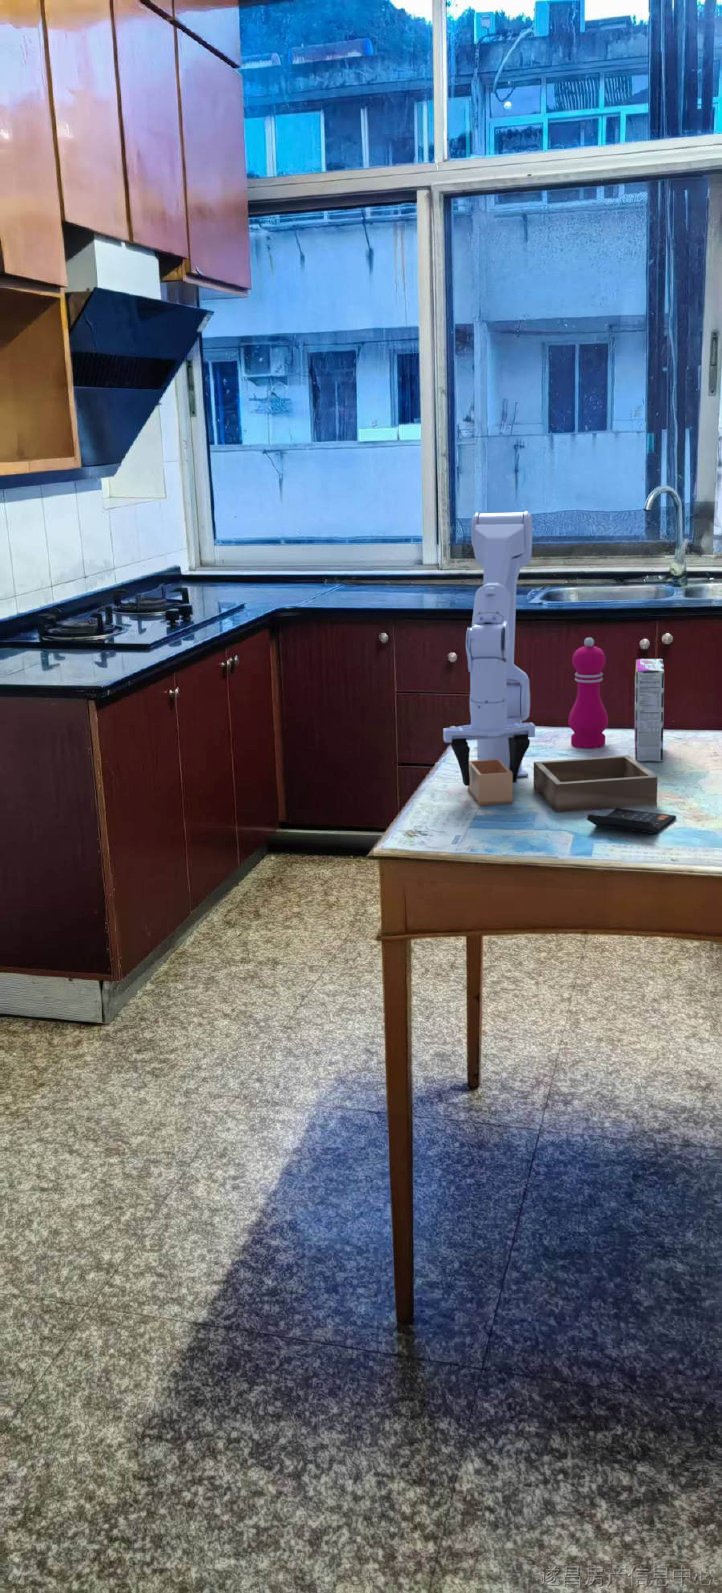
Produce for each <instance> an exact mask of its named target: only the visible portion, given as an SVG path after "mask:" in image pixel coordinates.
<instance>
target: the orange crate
mask: <svg viewBox="0 0 722 1593" xmlns="http://www.w3.org/2000/svg"><path fill="white" fill-rule="evenodd" d="M469 775H470V785H469V786H467V791H468V793H469V794H470V795H471V796H472V798H473V799H474V800H475V802H476V803H477V805H478V806H479V807H481V806H483V807H484V806H493V805H494V806H495V805H508V804H510V805H511V804H513V803H514V800H513V799H514V798H513V797H514V795H513V794H514V793H513V792H514V788H513V783H514V782H513V773H512V772H511V771H510V770H509V768H508V767H507V766H506V765H505V764H504V763H503V762H502V761H501V760H500V759H492V760H478V761H477V760H469Z"/></svg>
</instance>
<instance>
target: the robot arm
mask: <svg viewBox="0 0 722 1593" xmlns="http://www.w3.org/2000/svg"><path fill="white" fill-rule="evenodd" d="M533 528H534V526H533V516H532V514H531V513H530V512H529V511H528V510H525V511H523V512H521V511H520V512H488V513H487V512H486V513H480V512H475V513H474V515H473V516H472V518H471V525H470V530H471V531H470V536H471V538H470V539H471V545H472V547H473V552H474V554H473V555H474V558H475V559H476V562H477V565H478V566H480V567H482V568H483V580H482V581H483V582H482V583H483V585H482V586H480V587H479V588H478V589H477V590H476V592H475V594H474V595H475V596H474V601H473V602H474V603H473V611H472V612H473V613H472V620H471V627H467V630H466V635H465V651H466V652H465V653H466V656H467V668H468V672H469V673H470V675H469V676H470V677H469V678H470V685H469V686H470V687H469V688H470V689H469V690H470V691H469V712H470V713H469V714H470V724H468V725H460V726H453V727H445V728H443V729H442V733H443V734H442V738H443V742H444V743H445V744H446V743H449V745H450V748H451V749H452V751H453V753H454V755H455V757H456V760H457V763H458V766H459V770H460V773H461V777H462V784H463V785H464V786H466V787H468V786H469V785H470V775H469V761H470V752H471V751H470V750H471V748H470V746H469V745H468V743H469V742H467V741H474V740H475V741H477V742H476V745H477V746H476V748H477V749H476V750H477V752H476V753H477V758H476V761H478V760H492V759H500V760H501V761H502V762H503V763H504V764H505V765H506V766H507V767H508V768H509V770H510V771H511V772H512V773H513V783H517V780H518V778H519V777H527V776H529V772H528V771H527V770H526V769H525V768H524V767H523V762H522V761H523V759H524V757H525V754H526V752H527V750H528V749H529V747H530V743H531V739H529V738H535V737H536V725H535V724H534V723H533V722H523V721H526V720H527V719H528V718H529V717H530V709H531V690H530V678H529V677H528V674H527V673H526V672H525V671H524V670H522V669H521V668H520V667H518V666H517V665H516V664H514V663H515V645H516V644H515V643H516V642H515V641H516V638H515V637H516V636H515V635H516V612H517V611H516V610H517V607H516V606H517V582H518V579H519V574H520V570H521V569H523V568H524V567H526V566H528V565H530V563H531V558H532V550H533V530H534V529H533Z"/></svg>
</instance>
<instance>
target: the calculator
mask: <svg viewBox="0 0 722 1593" xmlns="http://www.w3.org/2000/svg"><path fill="white" fill-rule="evenodd" d="M586 820H587V821H588V822H590V823H592V824H593V825H595V826H596V827H604V828H611V829H618V830H626V831H634V832H641V833H648V834H656V835H658V834H660V832H661V831H663V830H664V829H666V828H667V827H669V825H671V824H672V823H673V822H674V821H676V820H677V815H675V814H668V813H667V814H665V813H659V812H651V811H642V810H636V809H628V808H627V809H626V808H614V809H613V810H611V811H610V812H609V813H607V814H606V815H599V814H598V815H597V814H590V813H588V814H587V817H586Z"/></svg>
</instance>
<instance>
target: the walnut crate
mask: <svg viewBox="0 0 722 1593" xmlns="http://www.w3.org/2000/svg"><path fill="white" fill-rule="evenodd" d="M533 789H534V791H535V792H536V793H537V794H539V795H540V796H539V797H541V798H542V799H543V800H544V801H545V802H546V803H547V805H549V806H550V808H552V809H553V810H554V812H555V813H567V812H579V811H581V812H582V811H594V810H607V809H616V808H621V809H624V808H634V807H635V808H636V807H648V806H657V805H658V776H657V775H655V774H654V773H652V772H651V771H650V770H649V769H648V768H646V767H645V766H644V765H642V764H641V763H640V762H637V761H636V759H634V758H632V757H631V756H630V755H628V754H626V755H611V756H600V757H599V756H597V757H585V758H568V759H556V760H555V759H554V760H542V761H533Z"/></svg>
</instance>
